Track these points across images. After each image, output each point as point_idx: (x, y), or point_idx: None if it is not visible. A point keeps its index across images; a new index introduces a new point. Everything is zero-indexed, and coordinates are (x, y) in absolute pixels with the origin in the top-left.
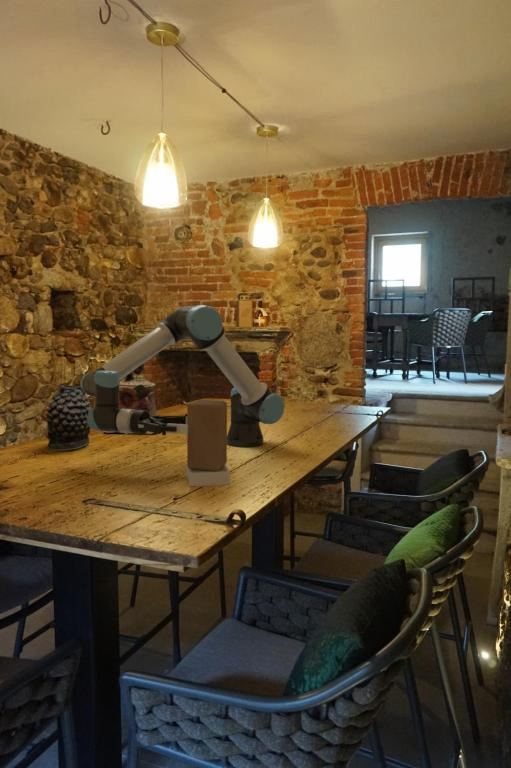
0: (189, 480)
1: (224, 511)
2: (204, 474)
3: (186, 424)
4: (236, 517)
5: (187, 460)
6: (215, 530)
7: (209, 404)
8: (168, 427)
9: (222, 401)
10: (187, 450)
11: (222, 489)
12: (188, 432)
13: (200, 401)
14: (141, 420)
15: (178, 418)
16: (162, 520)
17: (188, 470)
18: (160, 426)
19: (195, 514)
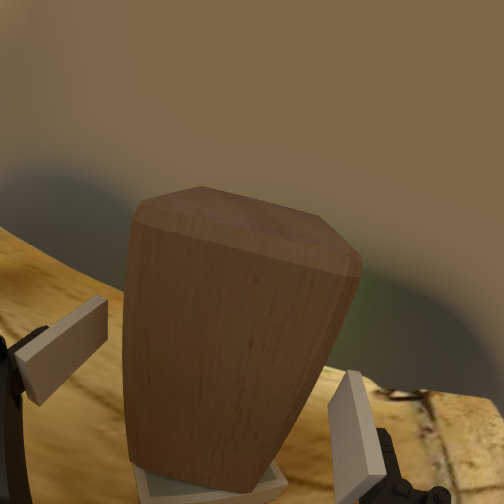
0: (271, 496)
1: (391, 409)
2: None
3: (42, 400)
4: (401, 393)
5: (256, 482)
6: (446, 402)
7: (325, 222)
8: (394, 465)
9: (215, 189)
10: (270, 463)
11: None
12: (302, 406)
13: (231, 208)
14: None
15: (8, 412)
16: (467, 463)
17: (246, 494)
18: (437, 490)
19: (425, 438)
